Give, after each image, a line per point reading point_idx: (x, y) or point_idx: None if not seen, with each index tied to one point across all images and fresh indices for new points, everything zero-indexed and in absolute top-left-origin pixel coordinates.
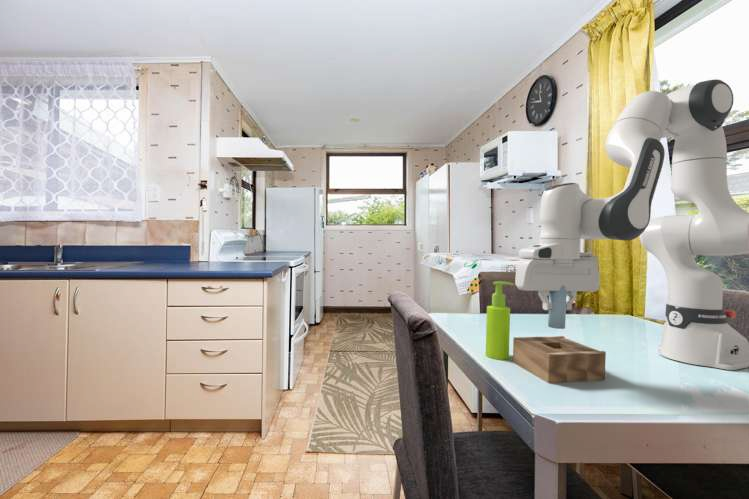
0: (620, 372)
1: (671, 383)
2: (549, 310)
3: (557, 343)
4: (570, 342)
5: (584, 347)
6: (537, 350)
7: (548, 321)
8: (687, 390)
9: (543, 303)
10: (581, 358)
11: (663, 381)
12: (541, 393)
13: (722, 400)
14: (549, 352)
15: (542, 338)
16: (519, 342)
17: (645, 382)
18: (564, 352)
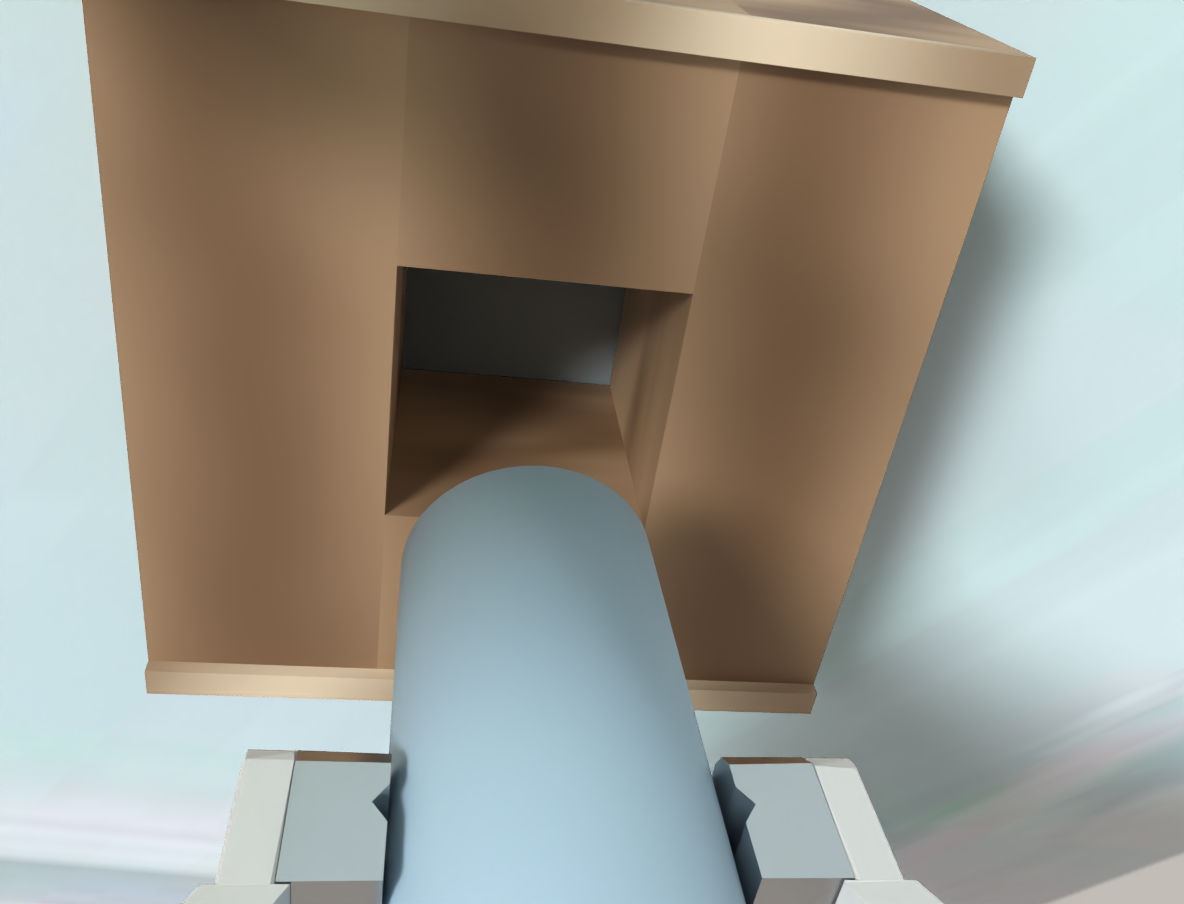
0: (1065, 436)
1: (1137, 658)
2: (393, 756)
3: (670, 283)
4: (844, 331)
5: (796, 532)
6: (136, 516)
7: (418, 569)
8: (1078, 744)
9: (225, 870)
10: None
11: (1135, 626)
12: (26, 650)
13: (1071, 848)
14: (221, 616)
15: (629, 39)
16: (97, 121)
17: (991, 620)
18: (359, 679)
